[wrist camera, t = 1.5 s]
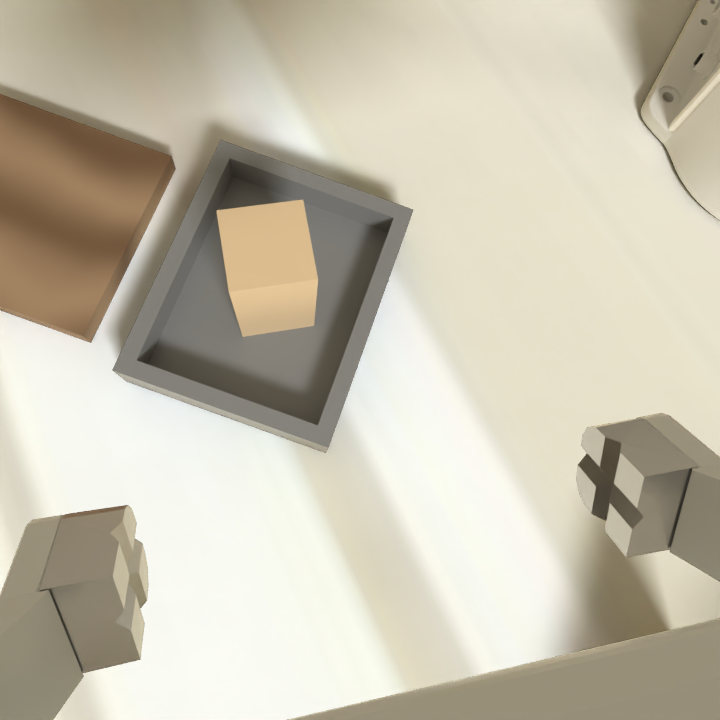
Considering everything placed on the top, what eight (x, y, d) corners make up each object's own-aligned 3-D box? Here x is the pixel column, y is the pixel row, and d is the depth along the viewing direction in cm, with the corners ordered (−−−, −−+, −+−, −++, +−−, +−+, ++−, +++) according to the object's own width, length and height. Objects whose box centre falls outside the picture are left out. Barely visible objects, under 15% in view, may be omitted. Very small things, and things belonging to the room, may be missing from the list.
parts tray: (226, 165, 42) (220, 139, 39) (405, 230, 42) (413, 209, 39) (126, 381, 38) (112, 370, 35) (326, 452, 38) (328, 447, 35)
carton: (232, 267, 39) (215, 207, 32) (301, 257, 40) (302, 196, 32) (242, 337, 38) (228, 292, 31) (314, 325, 39) (318, 279, 31)
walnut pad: (-7, 102, 41) (-18, 87, 40) (175, 168, 42) (171, 156, 40) (-109, 271, 38) (-125, 261, 37) (91, 342, 38) (82, 335, 37)
